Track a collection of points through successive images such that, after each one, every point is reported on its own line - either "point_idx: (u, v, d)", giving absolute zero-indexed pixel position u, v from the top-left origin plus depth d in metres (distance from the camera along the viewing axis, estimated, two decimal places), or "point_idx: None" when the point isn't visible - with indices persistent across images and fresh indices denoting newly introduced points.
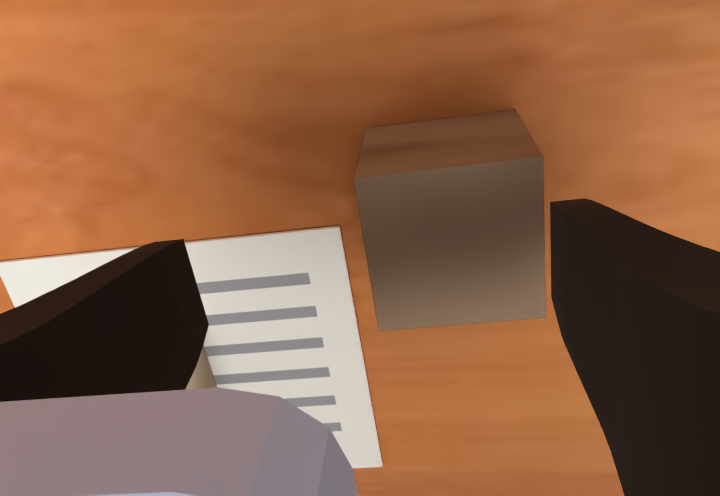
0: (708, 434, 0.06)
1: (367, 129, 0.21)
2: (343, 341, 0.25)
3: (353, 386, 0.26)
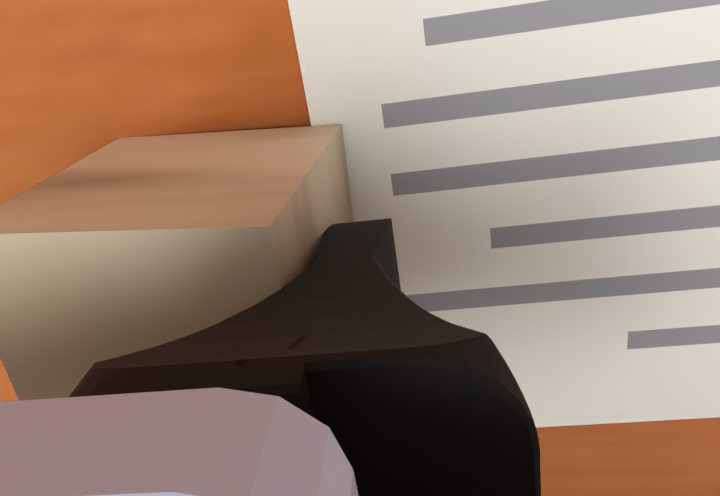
0: None
1: None
2: None
3: None
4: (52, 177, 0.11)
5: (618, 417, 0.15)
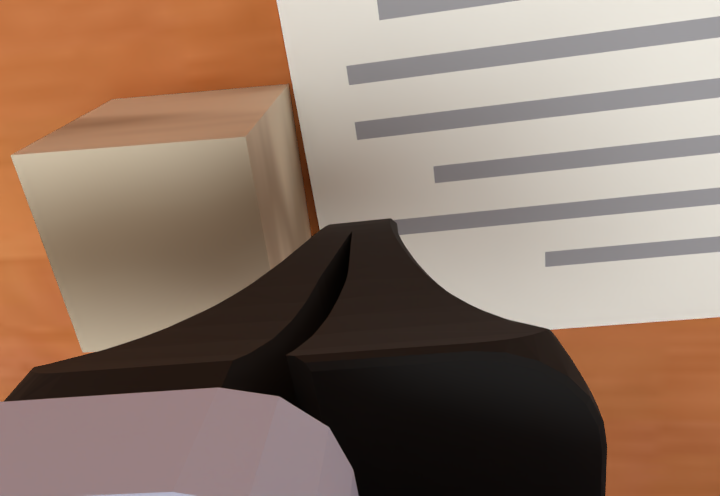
0: None
1: None
2: None
3: None
4: (71, 123, 0.15)
5: (541, 325, 0.19)
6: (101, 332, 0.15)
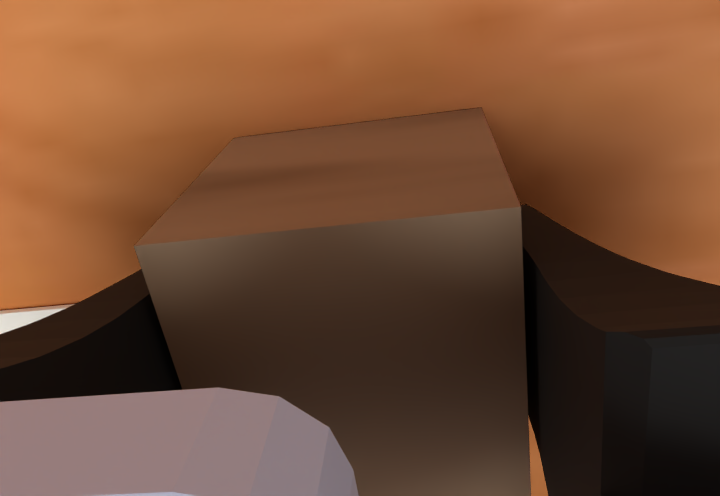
0: (588, 440, 0.06)
1: (232, 141, 0.12)
2: None
3: None
4: None
5: None
6: None
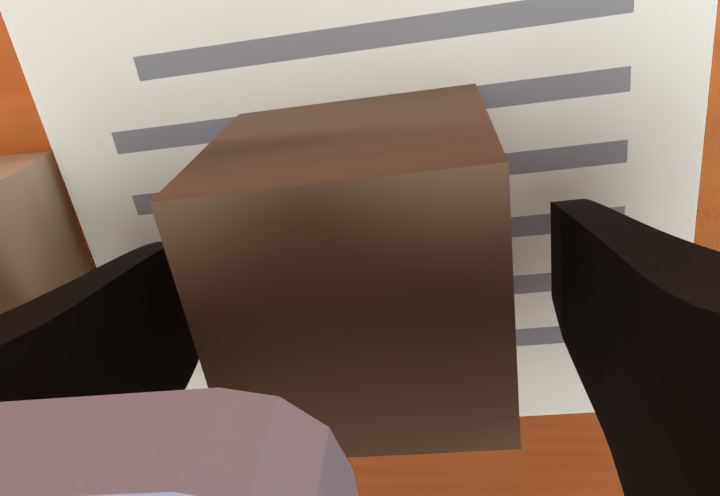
0: (708, 434, 0.06)
1: (238, 116, 0.13)
2: (669, 147, 0.13)
3: None
4: None
5: None
6: None
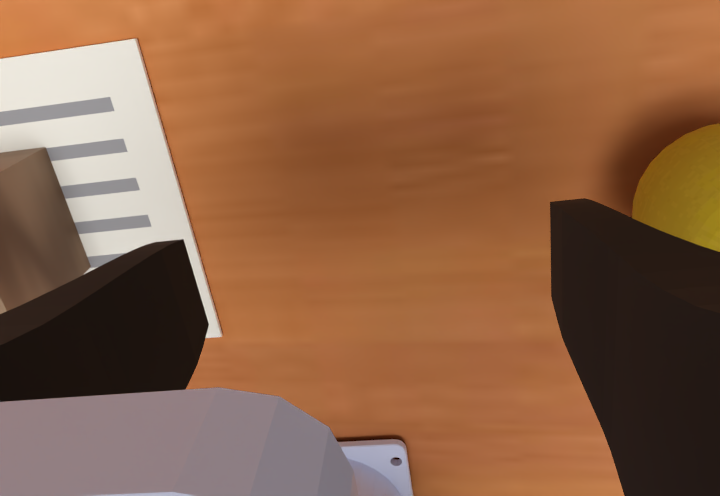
0: (708, 434, 0.06)
1: None
2: (159, 182, 0.23)
3: (177, 238, 0.24)
4: None
5: None
6: None
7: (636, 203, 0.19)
